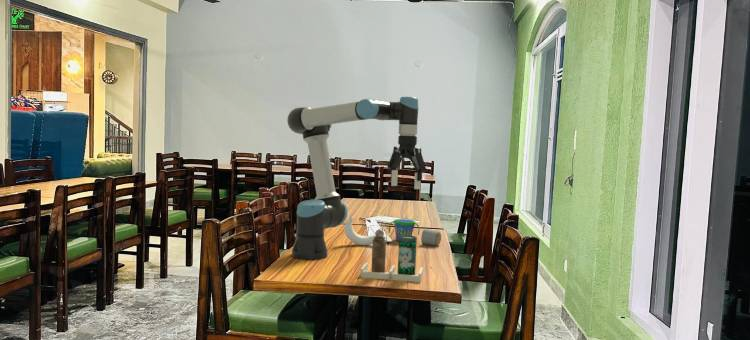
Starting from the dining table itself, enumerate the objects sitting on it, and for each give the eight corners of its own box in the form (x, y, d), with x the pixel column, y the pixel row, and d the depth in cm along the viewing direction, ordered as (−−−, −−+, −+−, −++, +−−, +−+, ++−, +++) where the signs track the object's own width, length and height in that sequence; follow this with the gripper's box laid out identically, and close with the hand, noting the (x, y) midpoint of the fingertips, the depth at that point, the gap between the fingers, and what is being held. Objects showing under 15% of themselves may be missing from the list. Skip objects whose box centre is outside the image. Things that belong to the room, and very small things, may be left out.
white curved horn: (383, 247, 260) (385, 216, 260) (343, 245, 260) (344, 214, 259) (383, 245, 265) (384, 214, 264) (343, 243, 264) (344, 213, 264)
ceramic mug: (436, 247, 265) (437, 231, 264) (420, 245, 268) (421, 229, 268) (443, 244, 274) (444, 228, 274) (427, 242, 278) (428, 227, 278)
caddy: (360, 279, 200) (360, 268, 200) (364, 273, 210) (365, 262, 210) (420, 284, 197) (421, 273, 197) (422, 277, 207) (423, 267, 206)
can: (395, 278, 201) (397, 237, 200) (400, 274, 207) (402, 234, 206) (411, 280, 199) (413, 239, 198) (416, 276, 204) (418, 236, 203)
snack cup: (420, 240, 281) (421, 220, 281) (416, 243, 271) (417, 223, 271) (391, 237, 286) (392, 217, 285) (386, 240, 276) (386, 220, 275)
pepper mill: (370, 276, 202) (371, 230, 201) (372, 272, 207) (374, 227, 206) (383, 277, 201) (385, 231, 200) (385, 273, 206) (387, 228, 205)
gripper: (436, 136, 217) (434, 190, 218) (393, 134, 236) (391, 184, 237) (423, 135, 212) (420, 190, 214) (380, 134, 231) (378, 184, 232)
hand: (405, 187), depth 225 cm, fingers open, 13 cm apart
